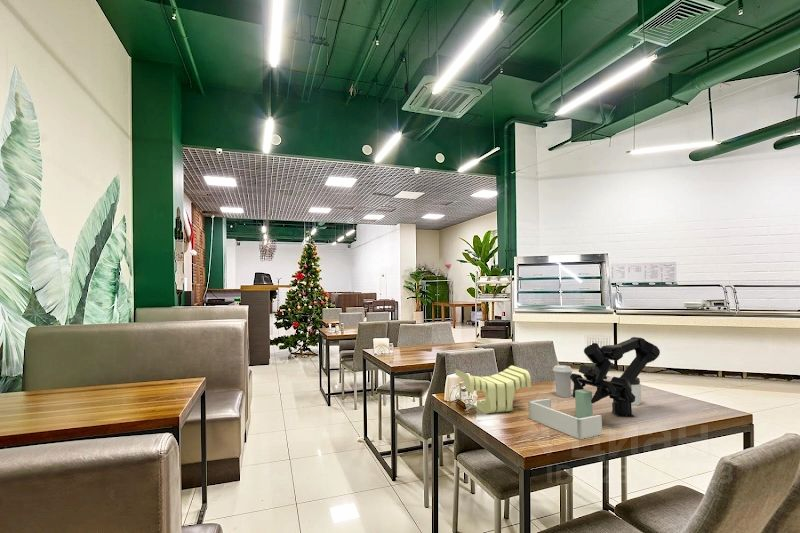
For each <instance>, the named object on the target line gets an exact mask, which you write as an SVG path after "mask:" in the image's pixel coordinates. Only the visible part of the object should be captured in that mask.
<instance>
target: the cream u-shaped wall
mask: <svg viewBox="0 0 800 533" xmlns="http://www.w3.org/2000/svg"><path fill="white" fill-rule="evenodd" d="M602 417H603V416H602V415H601V414H597V415H593V416H590V417H585V418H580V419H579V418H576V416H572V415H569V414H568V413H565V412H562V411H559V410H556V409H553V408H552V398H545V399H543V398H542V399H537V400H530V401H528V418H529V419H530V420H533V421H535V422H537V423H539V424H541V425H543V426H546V427H549V428H552V429H554V430H557V431H559V432H561V433H563V434H566V435H568V436H571V437H573V438H575V439H577V438H578V440H584V438H585V439H589V438H594V437H598V435H599V436H602V435H603V421H602V420H603V419H602ZM593 436H594V437H593Z"/></svg>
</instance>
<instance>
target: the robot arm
mask: <svg viewBox="0 0 800 533" xmlns="http://www.w3.org/2000/svg"><path fill="white" fill-rule="evenodd" d="M631 351H635V357H634V359H633V360H632V361H631V362H630V364H629V365H628V367H626V369H625V370H624V371H623V373H622V374H621V375H620V377H619V376H618V377H617V376H613V377H612V378H611V380H610V381H609V380H607V379H608V376H607V374H608V373H609V371H610V370H615V369H616V368H615V365H614V362H611V361H615V362H618V361H619V360H621V359H622V358H623V357H624V355H625V354H626V353H629V352H631ZM583 353H584V355H585V356H586V357H587V359H589V361H590V362H591V363H593V365H592V366H590V365H589V366H588V365H584V364H580V365H579V369H578V373H581V374H583V376H584V378H583V376H582V375H581V374H577V373H573V372H572V374H571V376H570V379H571V382H572V383H573V390H572V395H571V396H572V398H573V399H575V390H582V389H583V390H585V388H584V387H585V386H586V385H589V386H592V387H594V388H595V387H596V391H595V393H594V395H592V400H591V403H592V404H595V403H597V402H599V401H601V400H602V399H605V398H607V397H609V399H612V402H611V405H612V406H611V407H612V408H611V409H612V410H611V413H613V414H614V415H616V416H617V417H631V418H633V417H635V416H634V414H633V411H632V410H633V409H632V405H631V403H633V402H635V396H634V395H633V394H632V392H631V391H632V387H631V384H632V383H633V382H634V380H635V379H636V378H637V377H638V376H639V375H641V374H640V373H641V372H642V371H643V369H645V367H646V366H647V364H649V363H652V362H655V360H656V359H658V358H659V356H660V354H661V351H660V349H659V347H658V346H657V345H655V344H653V343H651V342H649V341H648V340H645V338H643V337H637V336H633V337H631V338H628V339H627V340H624V341H621V342H619V343H617V344H611V345H610V344H605V345H602V346H601V347H600V346H599V344H598V343H597V342H592V344H590V345H587V346H586V347H584V349H583Z"/></svg>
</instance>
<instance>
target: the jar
mask: <svg viewBox="0 0 800 533" xmlns="http://www.w3.org/2000/svg"><path fill="white" fill-rule="evenodd" d="M640 382H641V381H640V378H639V377H638V376H637V378H636V379H635V380H634V382H633V383H632V384H631V387H632V391H631V392H632V394H633V395H634V396H635V402H633V403H631V406H639V405H642V404H643V402H642V387H641V386H642V385H641V384H642V383H640Z"/></svg>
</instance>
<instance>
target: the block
mask: <svg viewBox="0 0 800 533" xmlns="http://www.w3.org/2000/svg"><path fill="white" fill-rule="evenodd" d="M592 398H593V392H592V391H591V390H587V389H582V390H575V398H574V401H575V402H574V403H575V404H574V405H575V417H576V418H579V419H580V418H585V417H590V416H594V413H593V410H594V409H593V403H591V400H592Z"/></svg>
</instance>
